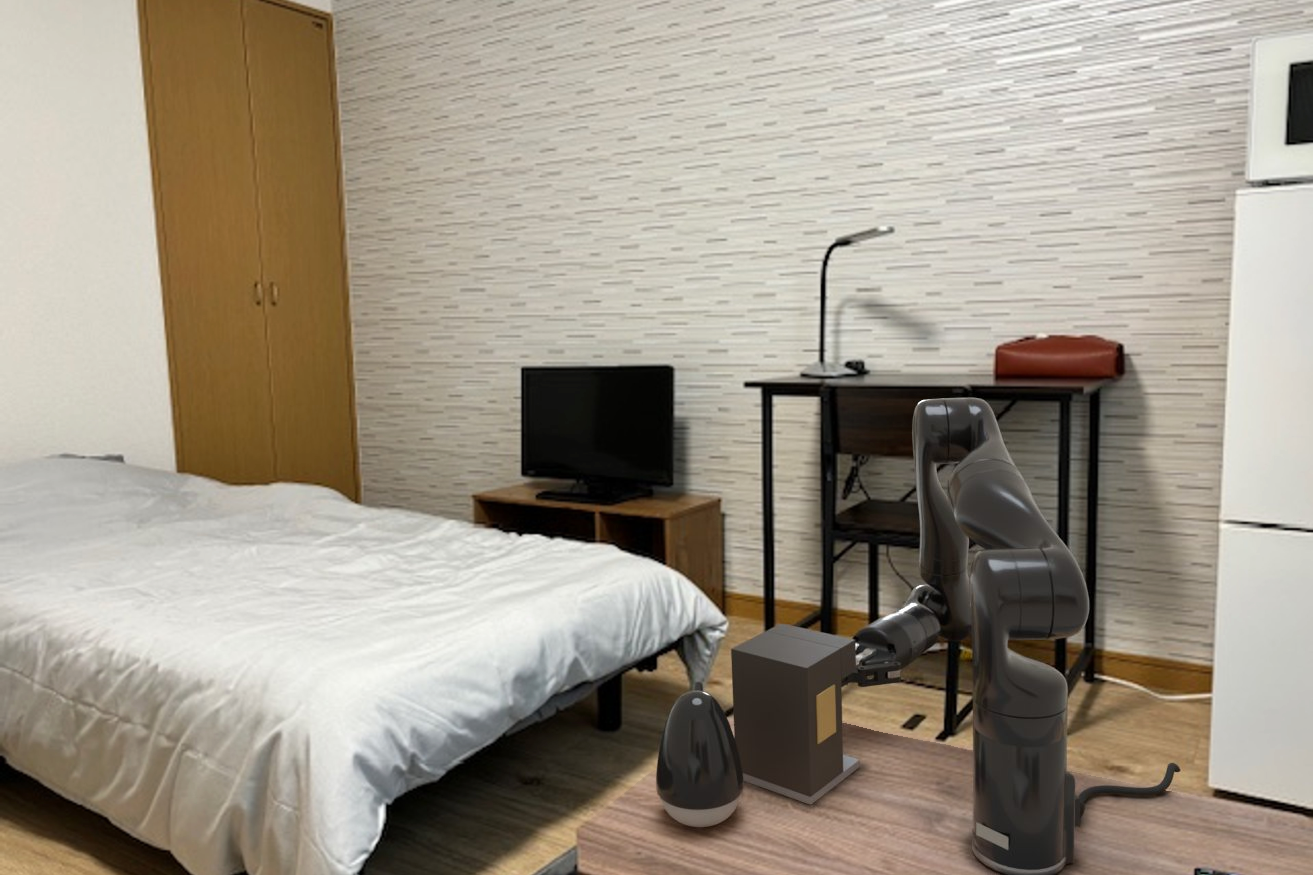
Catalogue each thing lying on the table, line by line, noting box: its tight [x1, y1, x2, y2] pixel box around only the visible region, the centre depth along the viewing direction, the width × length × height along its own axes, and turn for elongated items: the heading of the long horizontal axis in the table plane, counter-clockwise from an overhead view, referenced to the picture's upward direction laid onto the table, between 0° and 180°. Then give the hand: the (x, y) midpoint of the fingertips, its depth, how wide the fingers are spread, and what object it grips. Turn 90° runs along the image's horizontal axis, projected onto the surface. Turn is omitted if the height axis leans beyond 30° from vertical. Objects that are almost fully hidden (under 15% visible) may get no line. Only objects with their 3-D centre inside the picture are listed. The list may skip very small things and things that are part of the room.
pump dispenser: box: [655, 681, 745, 828], centre depth 115 cm, size 10×10×15 cm
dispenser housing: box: [730, 623, 861, 805], centre depth 123 cm, size 12×11×17 cm
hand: (824, 684), depth 128 cm, fingers closed
